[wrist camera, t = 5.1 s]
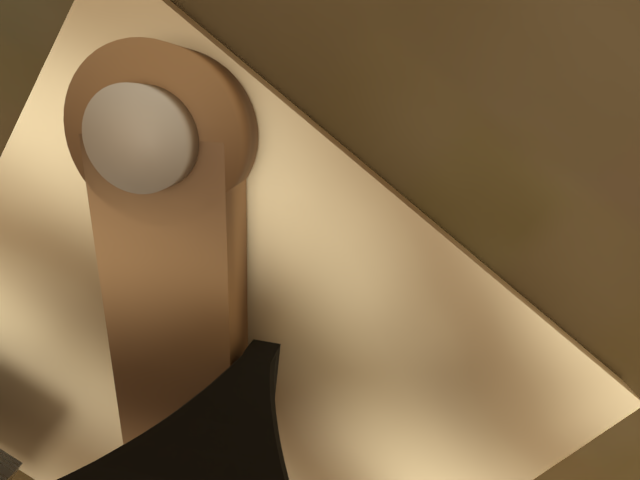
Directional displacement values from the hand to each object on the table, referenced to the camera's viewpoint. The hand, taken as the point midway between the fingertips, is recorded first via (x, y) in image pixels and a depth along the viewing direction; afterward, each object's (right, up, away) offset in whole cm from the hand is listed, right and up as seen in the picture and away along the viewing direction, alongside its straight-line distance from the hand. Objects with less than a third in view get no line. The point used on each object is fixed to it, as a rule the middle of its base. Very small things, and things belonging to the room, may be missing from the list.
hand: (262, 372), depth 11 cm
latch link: (-2, 0, +1) cm, 2 cm away
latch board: (-1, -1, +2) cm, 3 cm away
